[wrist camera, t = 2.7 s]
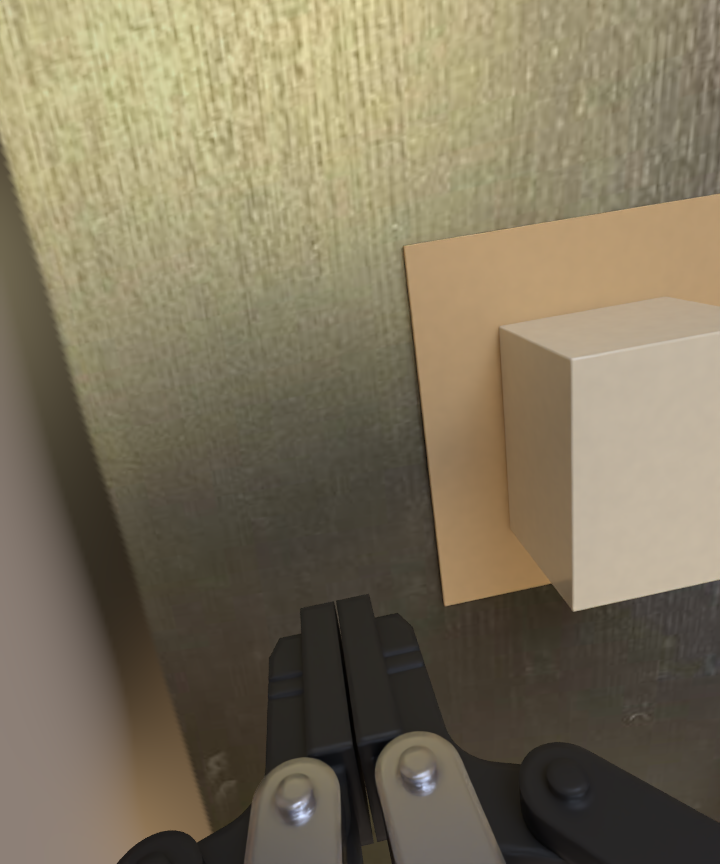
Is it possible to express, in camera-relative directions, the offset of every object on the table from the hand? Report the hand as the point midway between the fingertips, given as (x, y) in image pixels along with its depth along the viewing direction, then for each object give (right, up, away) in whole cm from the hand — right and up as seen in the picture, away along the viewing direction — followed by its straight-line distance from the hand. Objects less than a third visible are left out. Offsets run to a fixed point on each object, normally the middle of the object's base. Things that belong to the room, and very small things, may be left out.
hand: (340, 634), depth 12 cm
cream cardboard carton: (+9, +5, +8) cm, 13 cm away
